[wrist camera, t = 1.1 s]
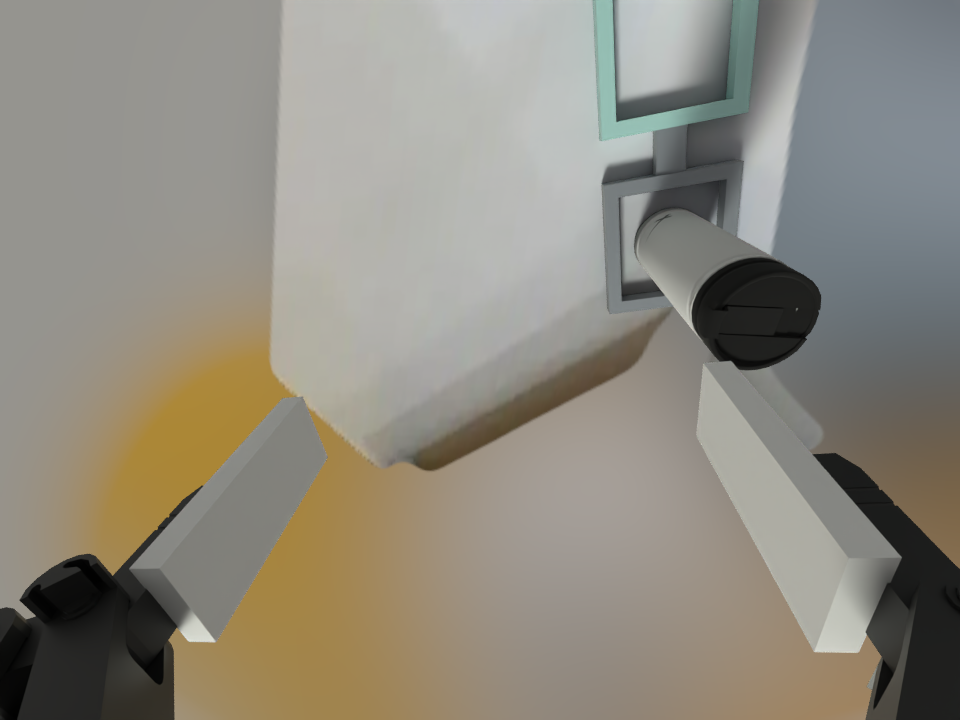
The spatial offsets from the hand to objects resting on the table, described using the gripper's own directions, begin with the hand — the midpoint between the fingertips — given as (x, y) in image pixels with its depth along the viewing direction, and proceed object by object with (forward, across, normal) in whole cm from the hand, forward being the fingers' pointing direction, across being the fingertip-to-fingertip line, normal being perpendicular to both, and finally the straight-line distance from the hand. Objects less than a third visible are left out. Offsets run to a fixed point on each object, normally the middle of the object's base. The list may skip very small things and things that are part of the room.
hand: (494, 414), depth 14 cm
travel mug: (+32, +14, -3) cm, 35 cm away
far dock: (+31, +14, -2) cm, 34 cm away
